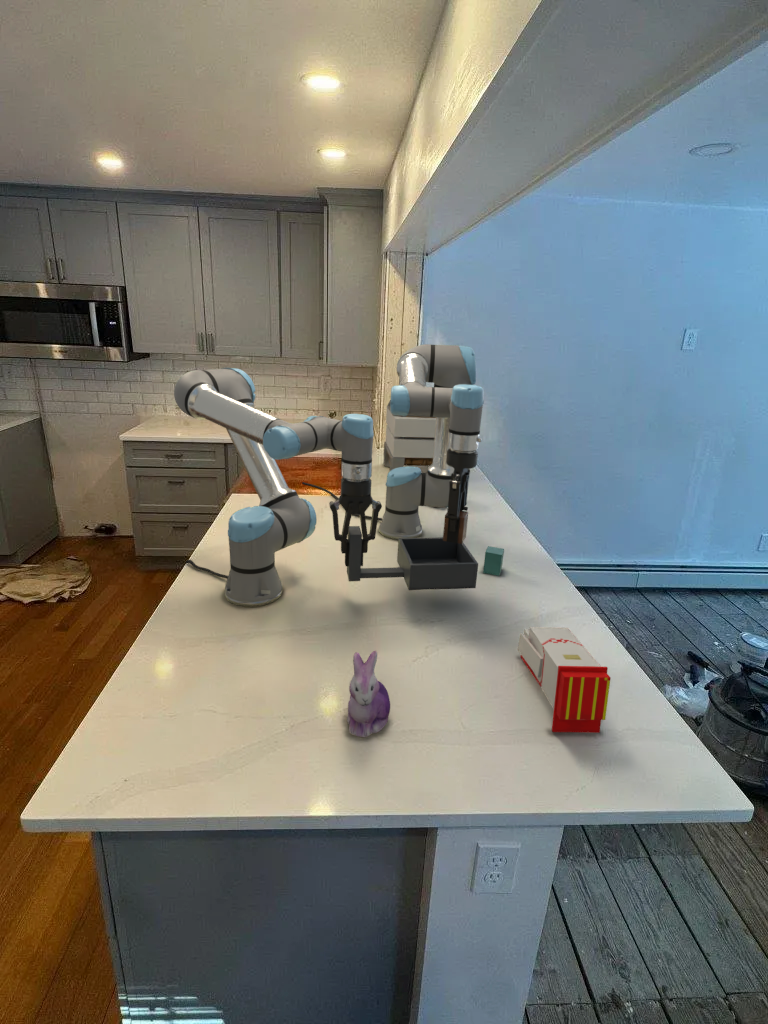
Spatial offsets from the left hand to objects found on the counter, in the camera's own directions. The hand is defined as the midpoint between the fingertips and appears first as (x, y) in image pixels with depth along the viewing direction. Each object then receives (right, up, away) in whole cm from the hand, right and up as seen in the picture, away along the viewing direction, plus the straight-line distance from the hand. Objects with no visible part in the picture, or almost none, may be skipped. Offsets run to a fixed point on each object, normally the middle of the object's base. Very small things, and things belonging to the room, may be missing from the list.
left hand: (353, 563), depth 148 cm
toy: (+44, -24, -27) cm, 57 cm away
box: (+14, -3, +3) cm, 15 cm away
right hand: (+26, +7, -2) cm, 27 cm away
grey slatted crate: (+25, +32, +127) cm, 133 cm away
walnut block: (+26, +7, -2) cm, 27 cm away
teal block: (+41, -5, +26) cm, 49 cm away
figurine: (+5, -27, -40) cm, 48 cm away
